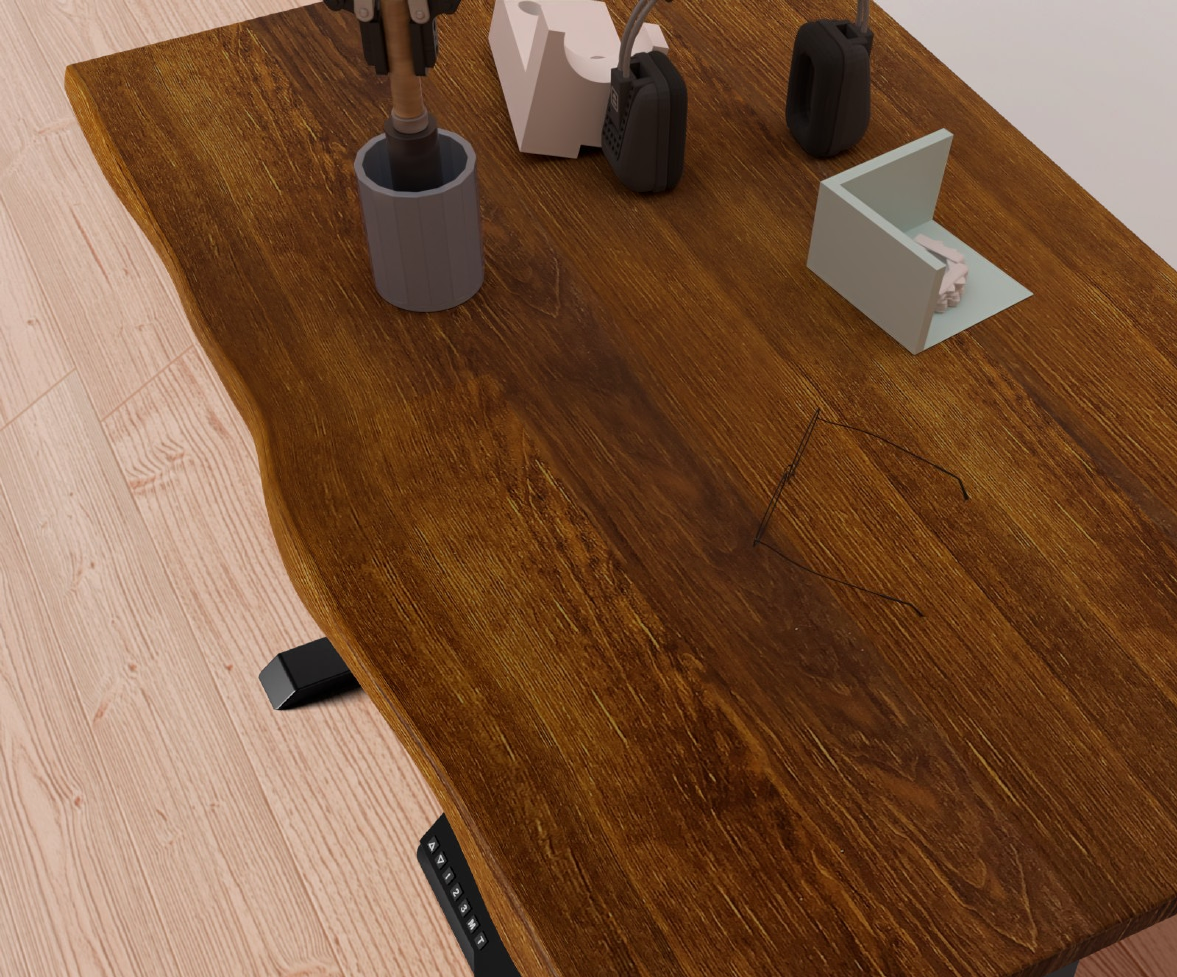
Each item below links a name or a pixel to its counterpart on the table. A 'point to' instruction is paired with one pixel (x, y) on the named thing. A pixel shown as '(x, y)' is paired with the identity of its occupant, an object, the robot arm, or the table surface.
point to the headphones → (660, 100)
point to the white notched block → (559, 69)
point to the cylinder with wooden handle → (408, 110)
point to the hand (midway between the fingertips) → (403, 68)
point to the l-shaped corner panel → (904, 248)
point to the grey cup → (423, 228)
